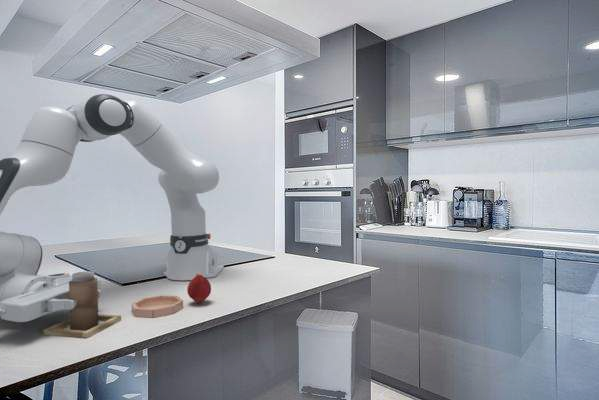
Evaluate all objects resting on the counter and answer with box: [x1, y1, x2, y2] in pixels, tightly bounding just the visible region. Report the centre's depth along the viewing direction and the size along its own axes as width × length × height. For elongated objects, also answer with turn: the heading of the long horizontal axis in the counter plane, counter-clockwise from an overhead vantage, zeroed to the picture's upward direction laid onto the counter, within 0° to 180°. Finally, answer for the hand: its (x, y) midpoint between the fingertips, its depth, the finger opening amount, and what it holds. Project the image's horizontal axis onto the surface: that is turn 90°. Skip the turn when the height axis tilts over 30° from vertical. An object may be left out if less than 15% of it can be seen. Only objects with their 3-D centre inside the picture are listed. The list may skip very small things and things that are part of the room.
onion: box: [187, 272, 212, 304], centre depth 92 cm, size 6×6×8 cm
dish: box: [131, 294, 184, 318], centre depth 87 cm, size 11×11×2 cm
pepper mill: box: [69, 270, 99, 331], centre depth 76 cm, size 5×5×12 cm
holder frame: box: [43, 313, 122, 339], centre depth 76 cm, size 10×10×1 cm
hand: (87, 299), depth 76 cm, fingers closed on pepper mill, 5 cm apart
